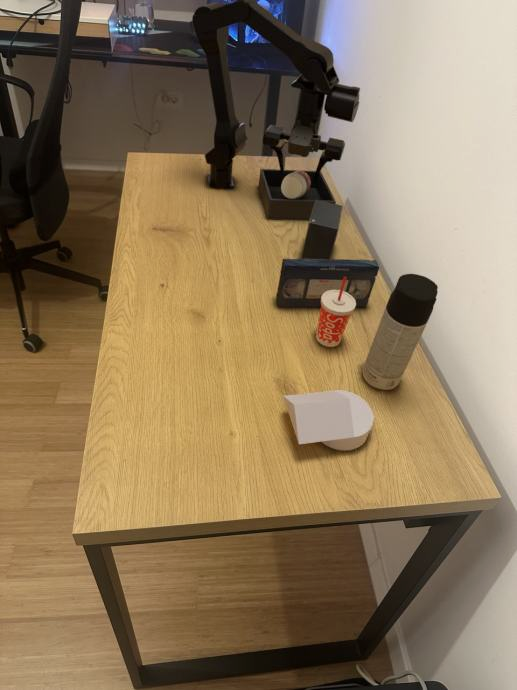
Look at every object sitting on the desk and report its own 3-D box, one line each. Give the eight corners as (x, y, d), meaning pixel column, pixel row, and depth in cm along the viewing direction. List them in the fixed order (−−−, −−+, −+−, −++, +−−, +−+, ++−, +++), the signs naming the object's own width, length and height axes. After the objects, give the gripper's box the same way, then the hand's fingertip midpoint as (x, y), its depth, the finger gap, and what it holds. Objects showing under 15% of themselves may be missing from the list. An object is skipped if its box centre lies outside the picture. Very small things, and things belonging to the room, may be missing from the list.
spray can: (401, 370, 89) (442, 279, 75) (396, 397, 84) (439, 305, 70) (365, 358, 90) (398, 267, 76) (358, 384, 85) (392, 292, 71)
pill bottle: (299, 165, 127) (291, 168, 117) (316, 183, 128) (309, 187, 118) (282, 183, 130) (273, 187, 120) (298, 200, 131) (291, 206, 121)
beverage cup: (305, 339, 92) (320, 277, 82) (321, 322, 96) (337, 261, 86) (335, 354, 90) (353, 293, 80) (350, 336, 94) (369, 276, 84)
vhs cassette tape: (276, 307, 98) (284, 265, 91) (275, 297, 100) (282, 255, 93) (367, 309, 100) (380, 268, 93) (363, 299, 102) (376, 259, 95)
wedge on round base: (295, 457, 73) (376, 446, 76) (302, 430, 69) (389, 419, 72) (280, 409, 80) (356, 400, 82) (286, 381, 75) (366, 373, 78)
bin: (258, 187, 133) (260, 168, 129) (317, 189, 135) (320, 171, 132) (267, 219, 121) (270, 199, 118) (331, 220, 124) (336, 201, 120)
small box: (328, 271, 108) (339, 228, 101) (299, 264, 109) (307, 222, 102) (334, 245, 116) (344, 204, 109) (306, 239, 116) (314, 198, 109)
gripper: (260, 114, 108) (253, 182, 119) (344, 132, 106) (329, 199, 116) (272, 98, 116) (265, 163, 127) (351, 115, 114) (337, 180, 124)
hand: (298, 176), depth 123 cm, fingers open, 8 cm apart
